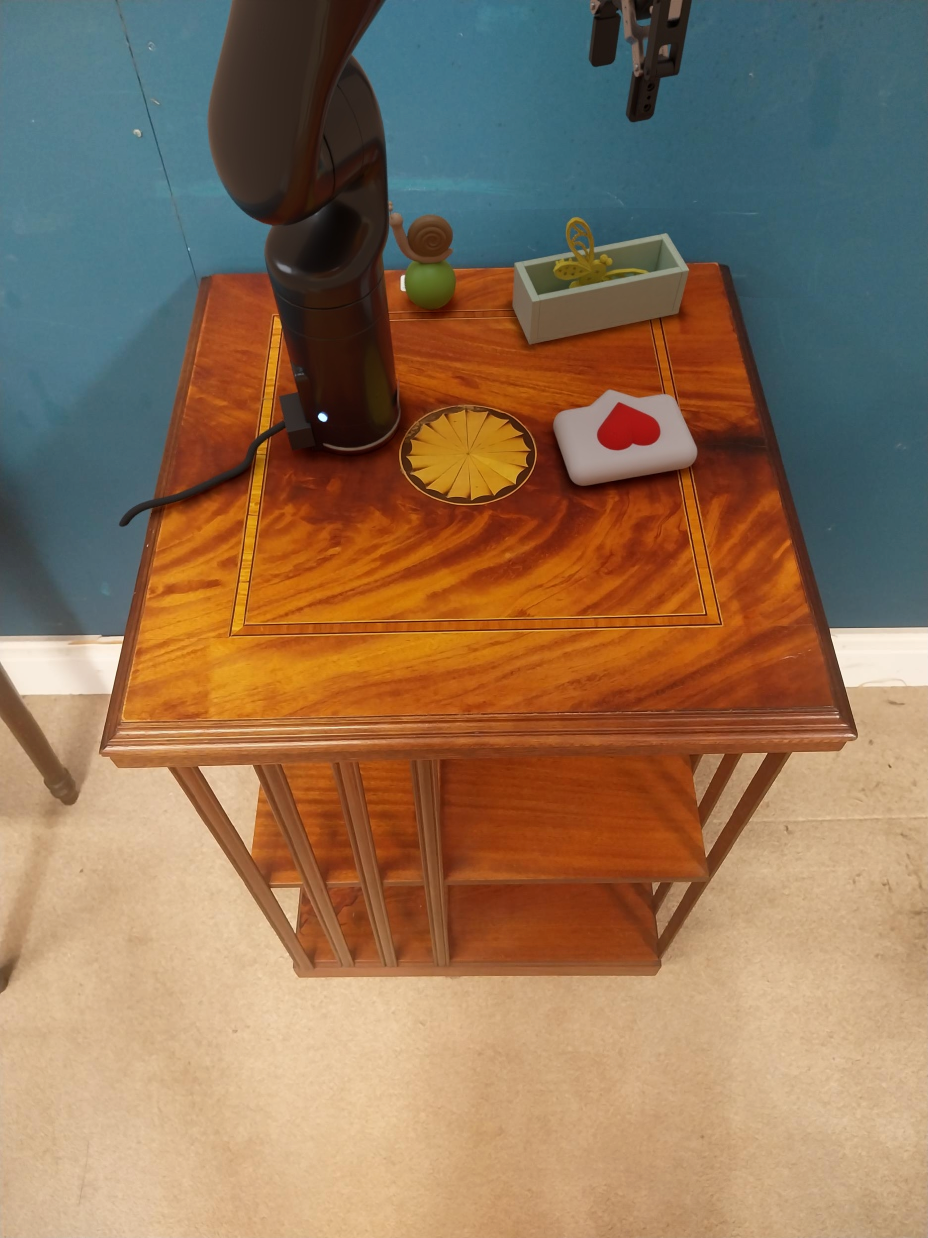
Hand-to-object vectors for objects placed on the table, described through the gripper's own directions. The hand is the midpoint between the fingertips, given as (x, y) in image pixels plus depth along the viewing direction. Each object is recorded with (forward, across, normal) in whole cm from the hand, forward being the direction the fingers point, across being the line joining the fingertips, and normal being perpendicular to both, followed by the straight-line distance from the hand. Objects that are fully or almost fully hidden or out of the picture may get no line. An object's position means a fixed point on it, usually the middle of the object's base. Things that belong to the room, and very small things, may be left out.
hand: (619, 89), depth 72 cm
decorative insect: (+22, -2, 0) cm, 22 cm away
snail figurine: (+22, +5, +16) cm, 28 cm away
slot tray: (+22, -1, 0) cm, 22 cm away
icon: (+22, -19, +4) cm, 30 cm away
